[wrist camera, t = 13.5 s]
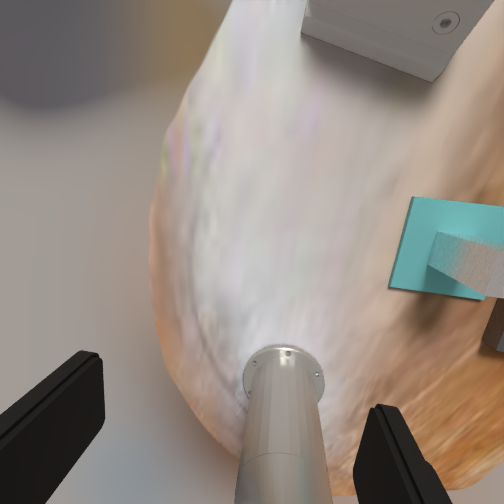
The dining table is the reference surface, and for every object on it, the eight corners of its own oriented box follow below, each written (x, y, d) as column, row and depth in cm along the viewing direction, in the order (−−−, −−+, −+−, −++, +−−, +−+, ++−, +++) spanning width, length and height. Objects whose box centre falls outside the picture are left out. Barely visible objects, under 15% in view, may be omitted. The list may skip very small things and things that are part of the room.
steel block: (462, 268, 34) (534, 302, 24) (427, 264, 34) (484, 295, 24) (474, 235, 32) (554, 257, 23) (437, 231, 33) (501, 250, 23)
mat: (481, 298, 35) (484, 300, 34) (388, 285, 36) (390, 286, 35) (514, 208, 32) (519, 208, 31) (412, 196, 33) (414, 196, 32)
